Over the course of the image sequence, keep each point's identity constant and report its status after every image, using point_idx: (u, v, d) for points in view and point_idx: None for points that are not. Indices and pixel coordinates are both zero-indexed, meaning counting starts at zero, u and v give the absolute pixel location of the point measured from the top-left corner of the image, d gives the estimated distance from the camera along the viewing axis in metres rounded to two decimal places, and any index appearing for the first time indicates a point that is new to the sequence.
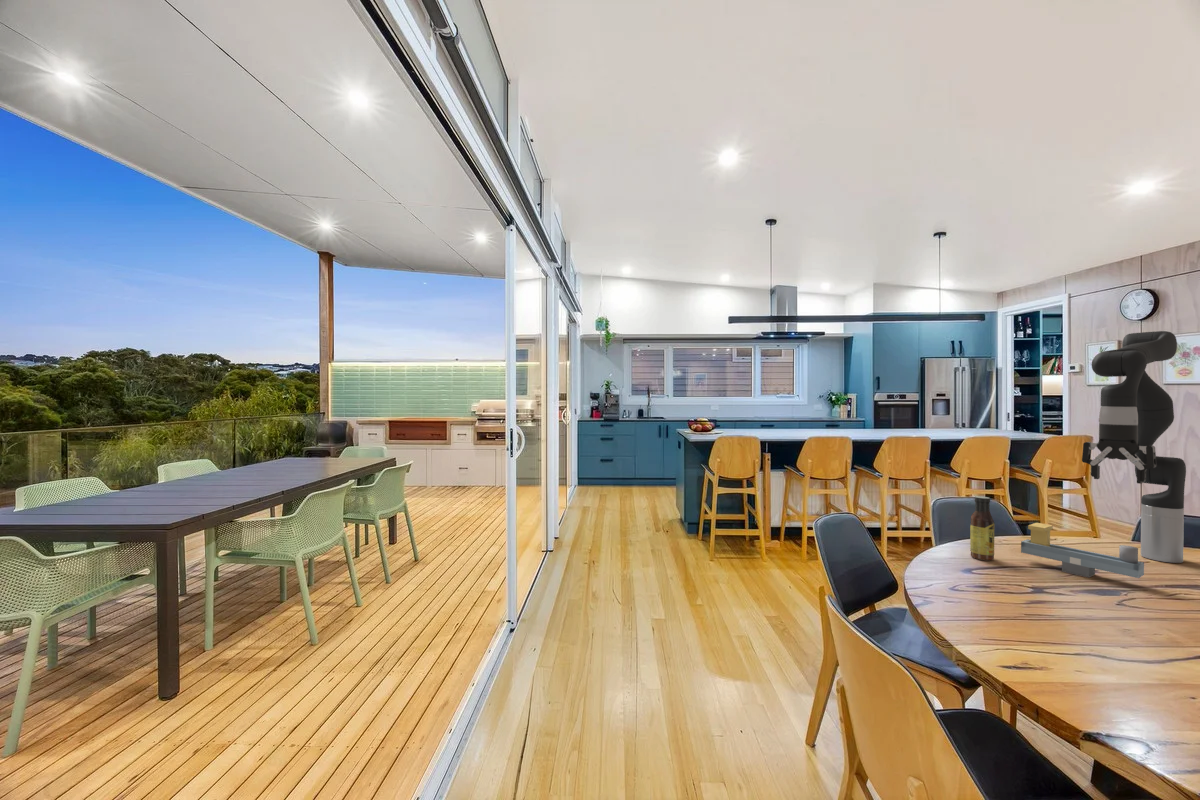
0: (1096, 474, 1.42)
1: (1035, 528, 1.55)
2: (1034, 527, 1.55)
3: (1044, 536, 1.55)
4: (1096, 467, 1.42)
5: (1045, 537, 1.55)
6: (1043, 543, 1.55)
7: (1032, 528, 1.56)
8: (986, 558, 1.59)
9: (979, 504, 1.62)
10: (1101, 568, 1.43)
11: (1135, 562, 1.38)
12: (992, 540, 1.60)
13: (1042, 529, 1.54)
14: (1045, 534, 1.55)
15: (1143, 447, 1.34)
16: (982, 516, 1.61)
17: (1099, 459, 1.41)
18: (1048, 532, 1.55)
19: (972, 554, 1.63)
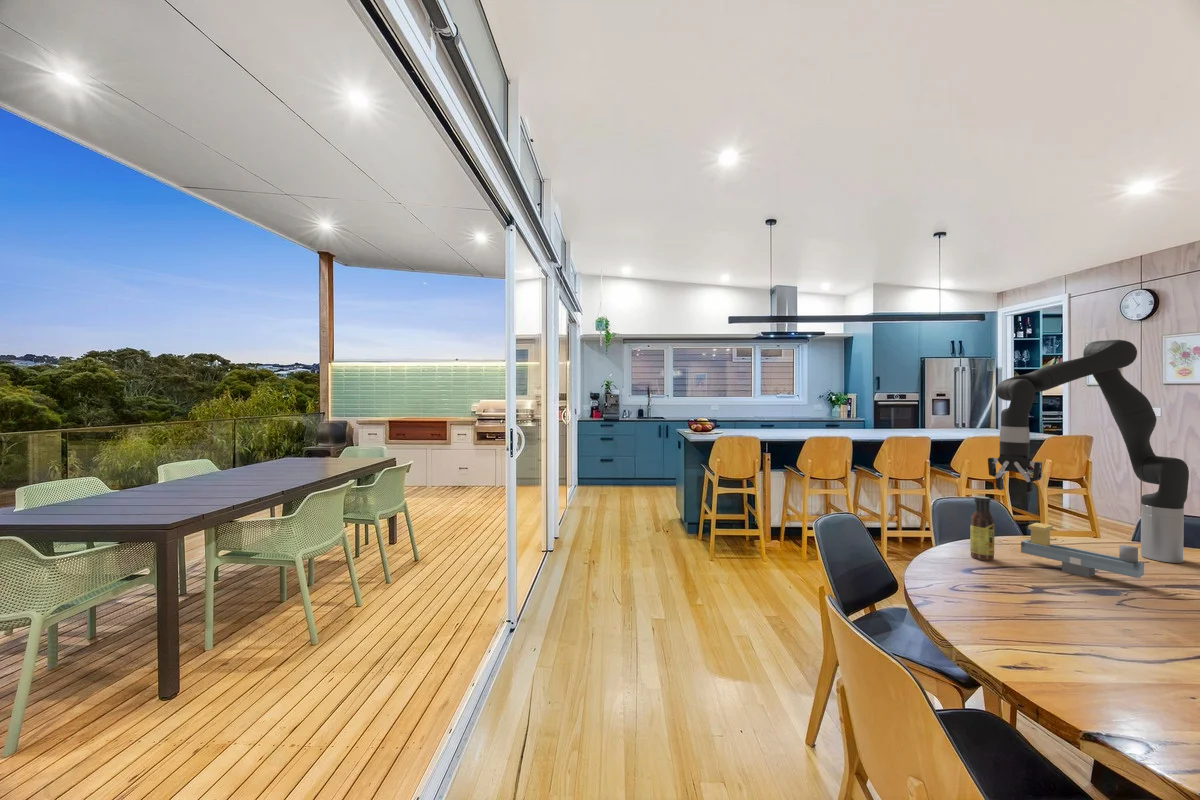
0: (1000, 486, 1.65)
1: (1035, 528, 1.55)
2: (1034, 527, 1.55)
3: (1044, 536, 1.55)
4: (1000, 480, 1.65)
5: (1045, 537, 1.55)
6: (1043, 543, 1.55)
7: (1032, 528, 1.56)
8: (986, 558, 1.59)
9: (979, 505, 1.62)
10: (1101, 568, 1.43)
11: (1135, 562, 1.38)
12: (992, 540, 1.60)
13: (1042, 529, 1.54)
14: (1045, 534, 1.55)
15: (1032, 462, 1.58)
16: (982, 516, 1.61)
17: (1001, 472, 1.64)
18: (1048, 532, 1.55)
19: (972, 554, 1.63)
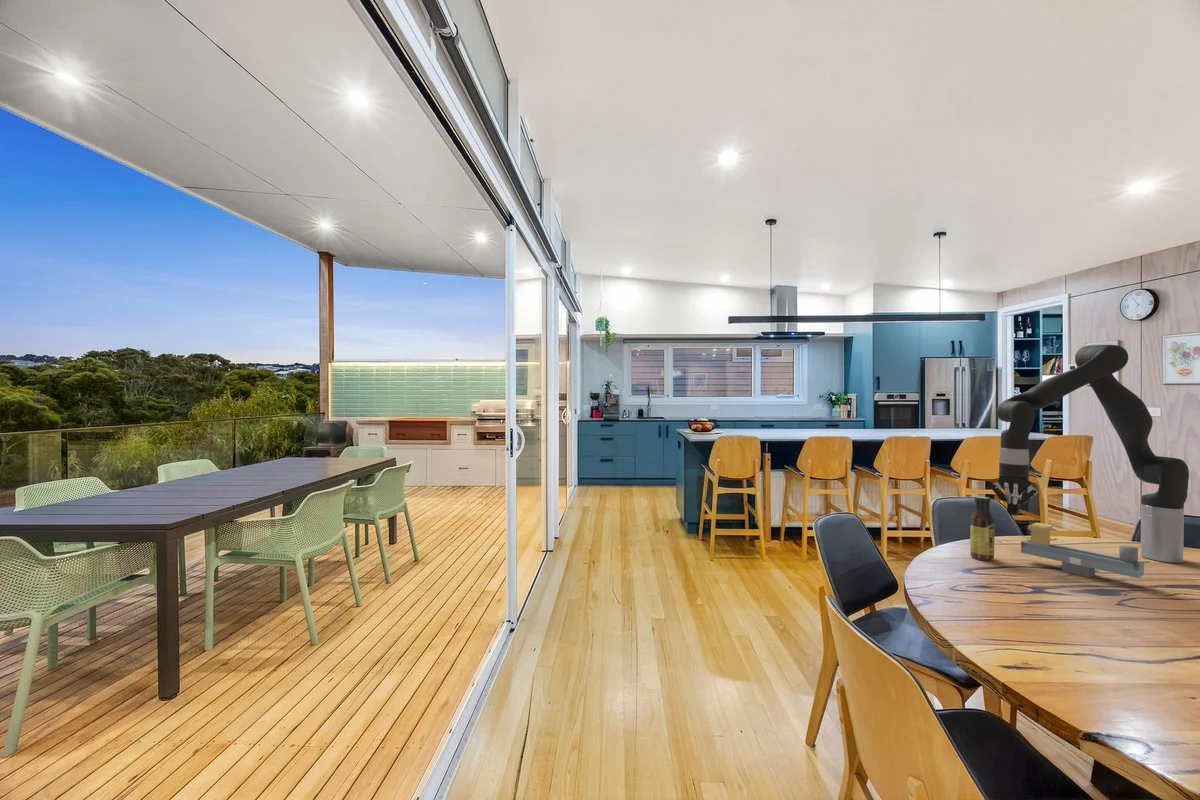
0: (1011, 511, 1.62)
1: (1035, 528, 1.55)
2: (1034, 527, 1.55)
3: (1044, 536, 1.55)
4: (1011, 505, 1.62)
5: (1045, 537, 1.55)
6: (1043, 543, 1.55)
7: (1032, 528, 1.56)
8: (986, 558, 1.59)
9: (979, 505, 1.62)
10: (1101, 568, 1.43)
11: (1135, 562, 1.38)
12: (992, 540, 1.60)
13: (1042, 529, 1.54)
14: (1045, 534, 1.55)
15: (1031, 488, 1.58)
16: (982, 516, 1.61)
17: (1008, 496, 1.62)
18: (1048, 532, 1.55)
19: (972, 554, 1.63)
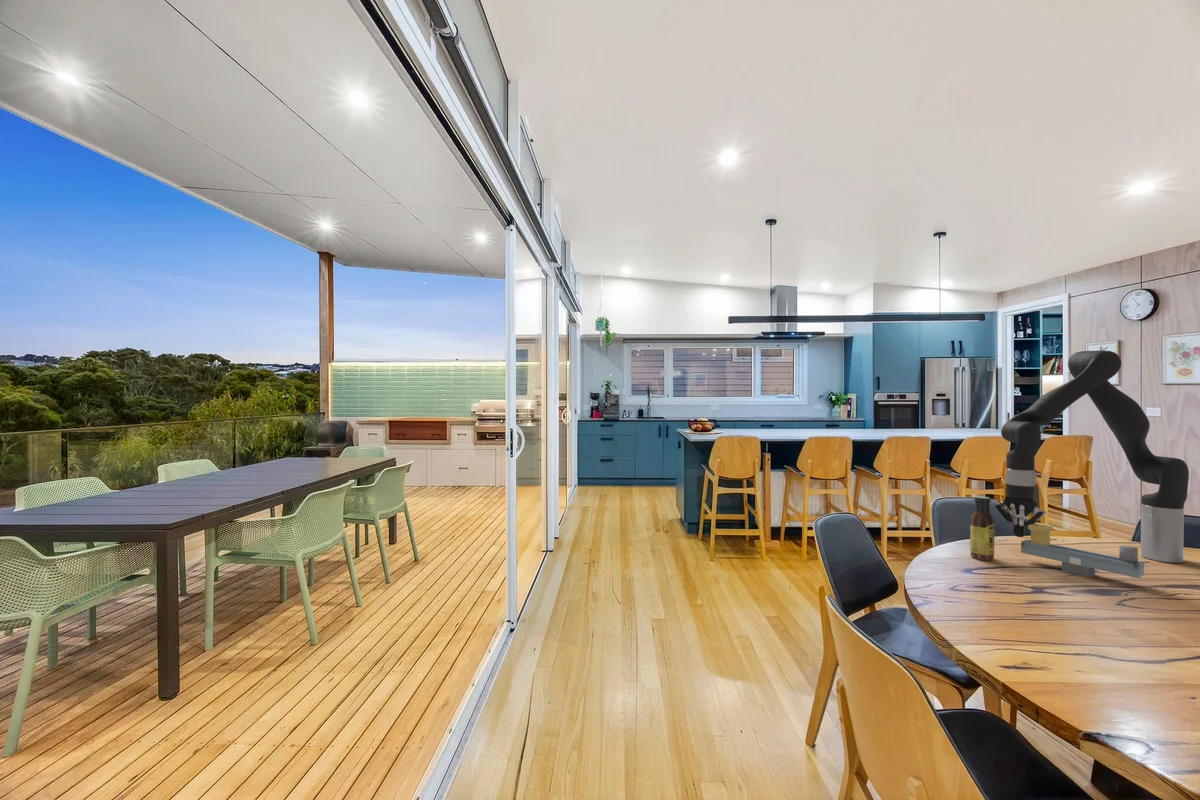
0: (1017, 532, 1.61)
1: (1035, 528, 1.55)
2: (1034, 527, 1.55)
3: (1044, 536, 1.55)
4: (1017, 526, 1.61)
5: (1045, 537, 1.55)
6: (1043, 543, 1.55)
7: (1032, 528, 1.56)
8: (986, 558, 1.59)
9: (979, 505, 1.62)
10: (1101, 568, 1.43)
11: (1135, 562, 1.38)
12: (992, 540, 1.60)
13: (1042, 529, 1.54)
14: (1045, 534, 1.55)
15: (1037, 509, 1.57)
16: (982, 516, 1.61)
17: (1015, 517, 1.61)
18: (1048, 532, 1.55)
19: (972, 554, 1.63)
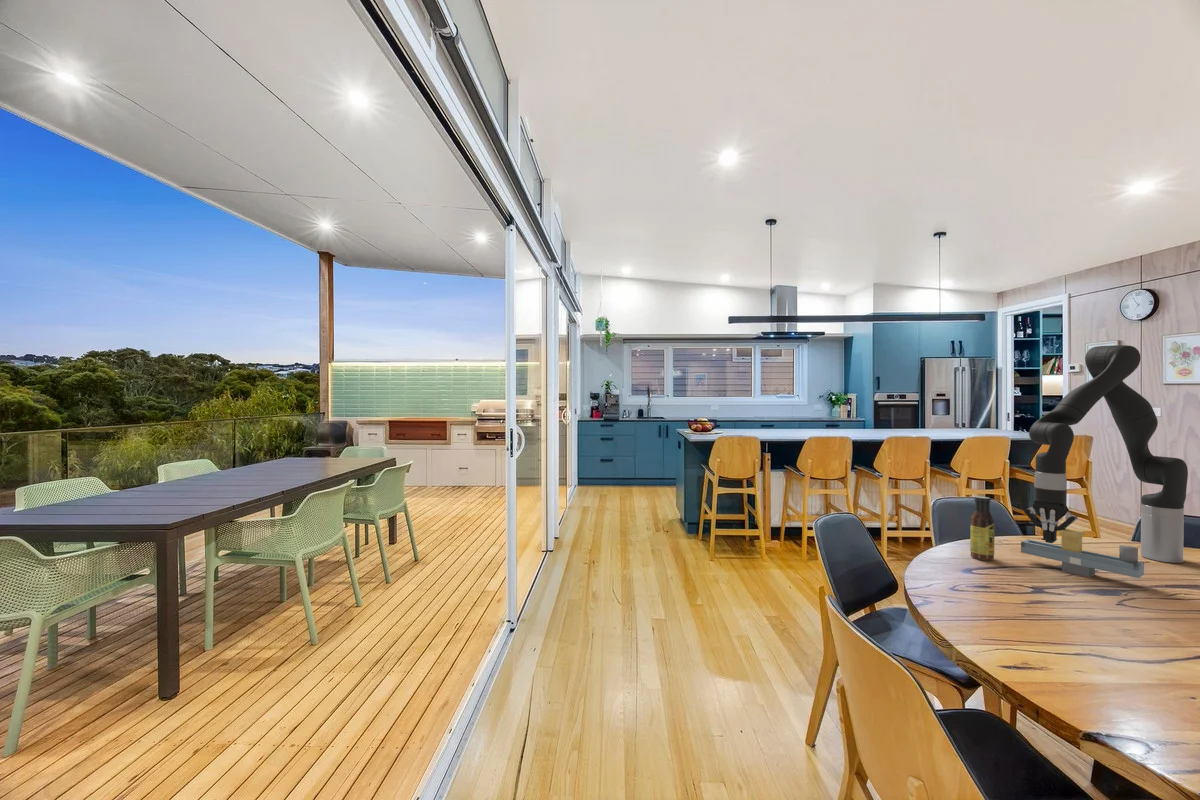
0: (1047, 538, 1.55)
1: (1067, 534, 1.49)
2: (1065, 533, 1.49)
3: (1076, 542, 1.48)
4: (1047, 531, 1.54)
5: (1077, 543, 1.48)
6: (1075, 549, 1.49)
7: (1063, 534, 1.49)
8: (986, 558, 1.59)
9: (979, 504, 1.62)
10: (1101, 568, 1.43)
11: (1135, 562, 1.38)
12: (992, 540, 1.60)
13: (1074, 535, 1.47)
14: (1077, 540, 1.48)
15: (1069, 514, 1.51)
16: (982, 516, 1.61)
17: (1045, 522, 1.55)
18: (1080, 538, 1.49)
19: (972, 554, 1.63)
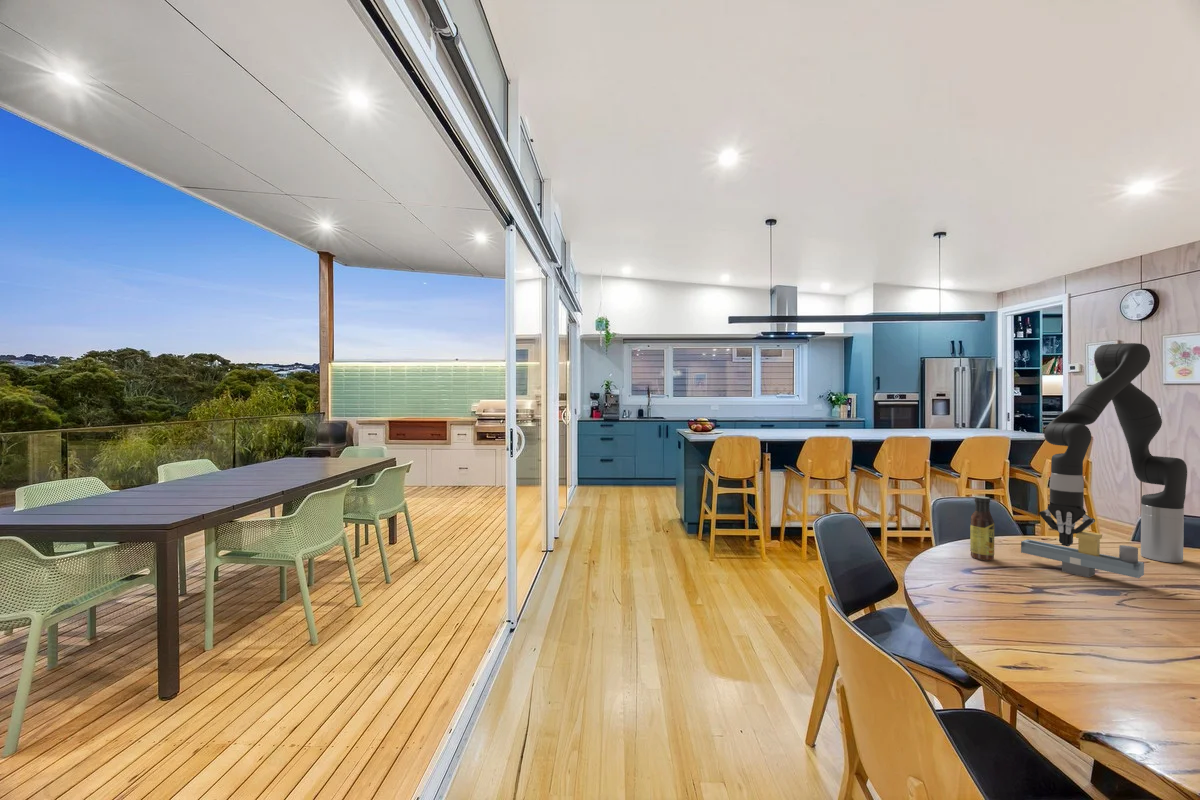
0: (1064, 541, 1.51)
1: (1084, 537, 1.46)
2: (1083, 536, 1.46)
3: (1093, 545, 1.45)
4: (1064, 534, 1.51)
5: (1095, 547, 1.45)
6: (1092, 553, 1.45)
7: (1080, 537, 1.46)
8: (986, 558, 1.59)
9: (979, 504, 1.62)
10: (1101, 568, 1.43)
11: (1135, 562, 1.38)
12: (992, 540, 1.60)
13: (1092, 538, 1.44)
14: (1095, 543, 1.45)
15: (1086, 517, 1.47)
16: (982, 516, 1.61)
17: (1061, 524, 1.51)
18: (1098, 541, 1.45)
19: (972, 554, 1.63)
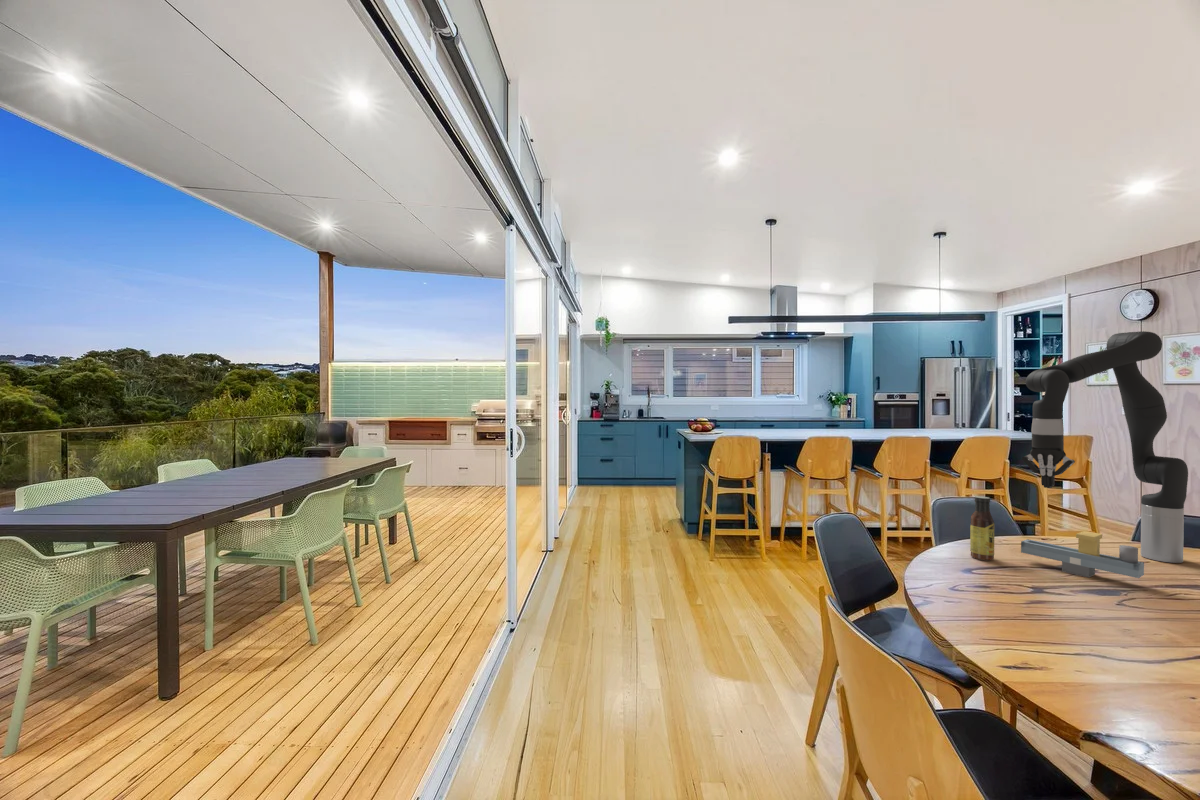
0: (1046, 483, 1.58)
1: (1084, 537, 1.46)
2: (1083, 536, 1.46)
3: (1094, 545, 1.45)
4: (1045, 477, 1.58)
5: (1095, 547, 1.45)
6: (1092, 553, 1.45)
7: (1080, 537, 1.46)
8: (986, 558, 1.59)
9: (979, 504, 1.62)
10: (1101, 568, 1.43)
11: (1135, 562, 1.38)
12: (992, 540, 1.60)
13: (1092, 538, 1.44)
14: (1095, 543, 1.45)
15: (1066, 458, 1.54)
16: (982, 516, 1.61)
17: (1043, 467, 1.58)
18: (1098, 541, 1.45)
19: (972, 554, 1.63)
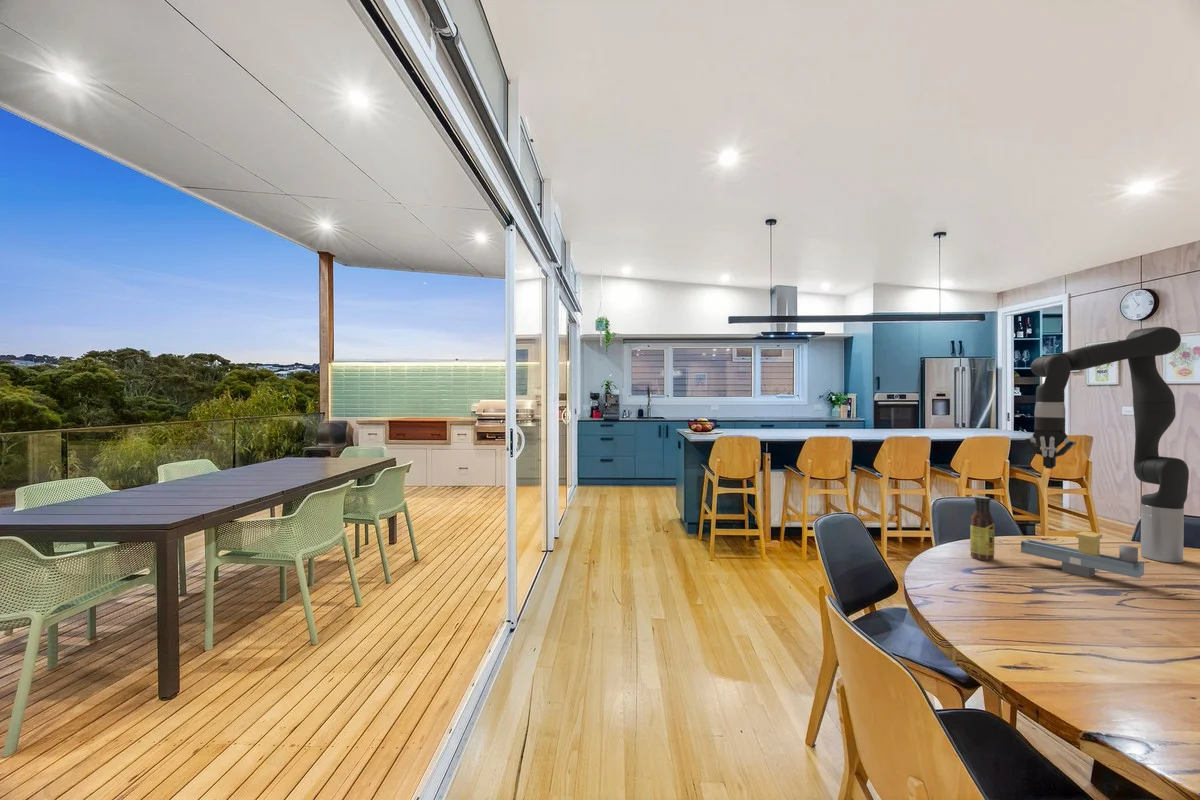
0: (1047, 464, 1.65)
1: (1084, 537, 1.46)
2: (1083, 536, 1.46)
3: (1094, 545, 1.45)
4: (1047, 458, 1.64)
5: (1095, 547, 1.45)
6: (1092, 553, 1.45)
7: (1080, 537, 1.46)
8: (986, 558, 1.59)
9: (979, 504, 1.62)
10: (1101, 568, 1.43)
11: (1135, 562, 1.38)
12: (992, 540, 1.60)
13: (1092, 538, 1.44)
14: (1095, 543, 1.45)
15: (1067, 440, 1.61)
16: (982, 516, 1.61)
17: (1045, 449, 1.65)
18: (1098, 541, 1.45)
19: (972, 554, 1.63)
